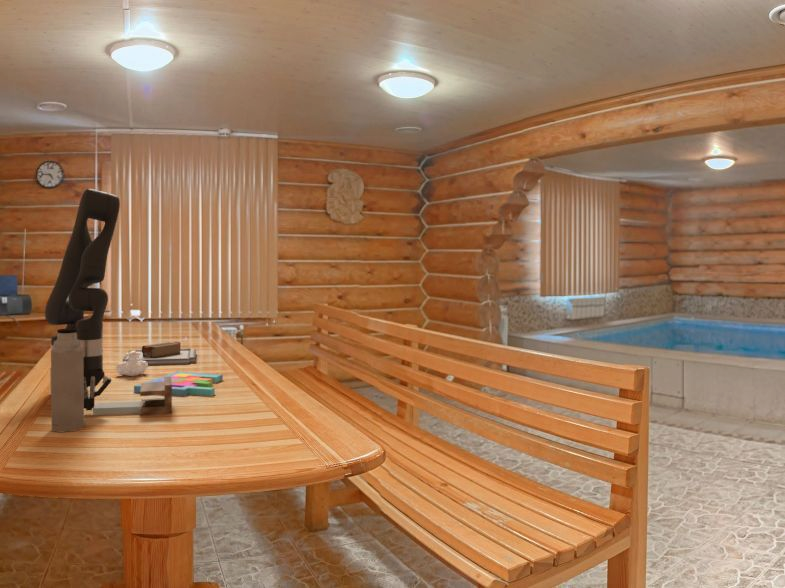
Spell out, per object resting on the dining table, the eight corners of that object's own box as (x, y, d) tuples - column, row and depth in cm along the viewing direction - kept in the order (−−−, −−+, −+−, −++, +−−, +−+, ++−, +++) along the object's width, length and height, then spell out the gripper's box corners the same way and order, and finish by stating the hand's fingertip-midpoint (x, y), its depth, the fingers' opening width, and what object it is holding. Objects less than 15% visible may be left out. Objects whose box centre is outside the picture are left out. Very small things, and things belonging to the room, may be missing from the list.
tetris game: (134, 393, 214) (206, 399, 208) (134, 385, 214) (206, 391, 208) (177, 378, 241) (242, 383, 236) (177, 371, 241) (242, 375, 236)
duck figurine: (116, 382, 239) (119, 362, 233) (113, 368, 244) (116, 348, 237) (148, 379, 246) (152, 360, 240) (144, 365, 250) (148, 346, 244)
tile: (92, 416, 183) (92, 408, 183) (97, 410, 190) (97, 402, 190) (142, 414, 187) (142, 406, 187) (145, 408, 194) (145, 401, 193)
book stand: (130, 356, 290) (130, 340, 289) (195, 354, 299) (195, 339, 298) (122, 367, 261) (122, 350, 261) (195, 365, 270) (195, 348, 270)
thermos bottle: (46, 428, 169) (45, 328, 167) (76, 422, 175) (75, 326, 173) (58, 434, 164) (57, 331, 162) (89, 428, 170) (88, 329, 168)
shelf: (140, 415, 184) (140, 386, 183) (141, 405, 196) (141, 377, 195) (171, 413, 187) (171, 384, 187) (170, 403, 199) (170, 376, 199)
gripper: (62, 356, 178) (62, 414, 179) (111, 354, 182) (111, 411, 183) (66, 352, 185) (66, 408, 186) (113, 351, 189) (113, 405, 190)
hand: (89, 409), depth 184 cm, fingers closed
